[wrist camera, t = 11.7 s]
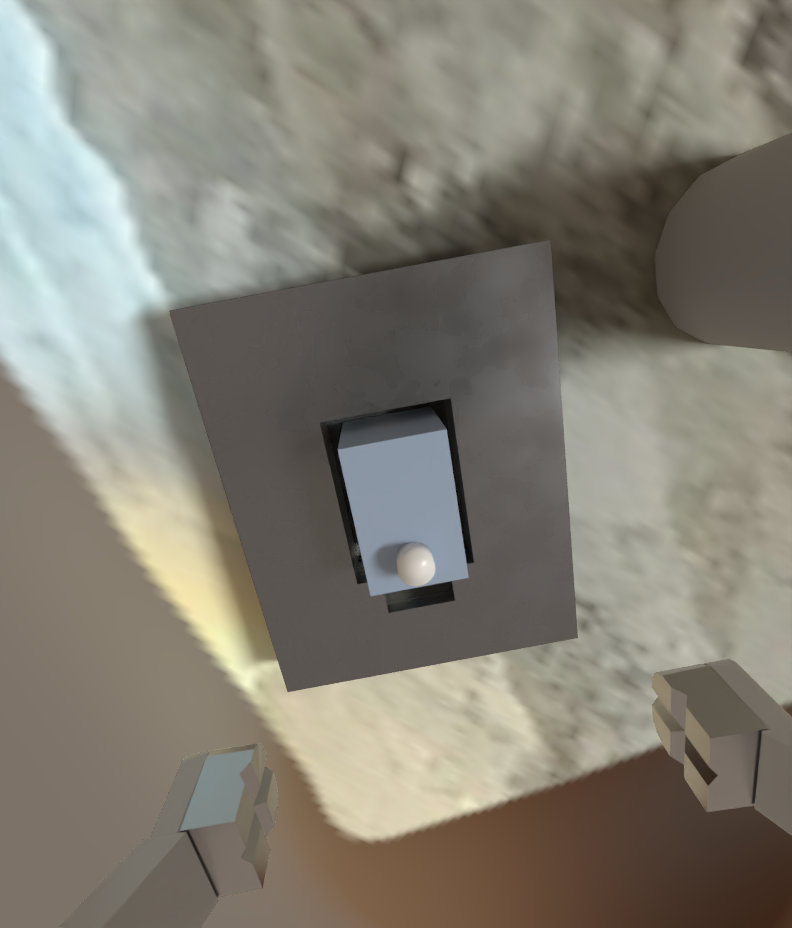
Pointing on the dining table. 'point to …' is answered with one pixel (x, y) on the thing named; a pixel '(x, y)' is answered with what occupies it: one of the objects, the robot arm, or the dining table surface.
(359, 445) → the block
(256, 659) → the dining table surface
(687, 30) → the dining table surface
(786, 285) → the cup
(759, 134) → the dining table surface
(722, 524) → the dining table surface
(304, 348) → the frame
